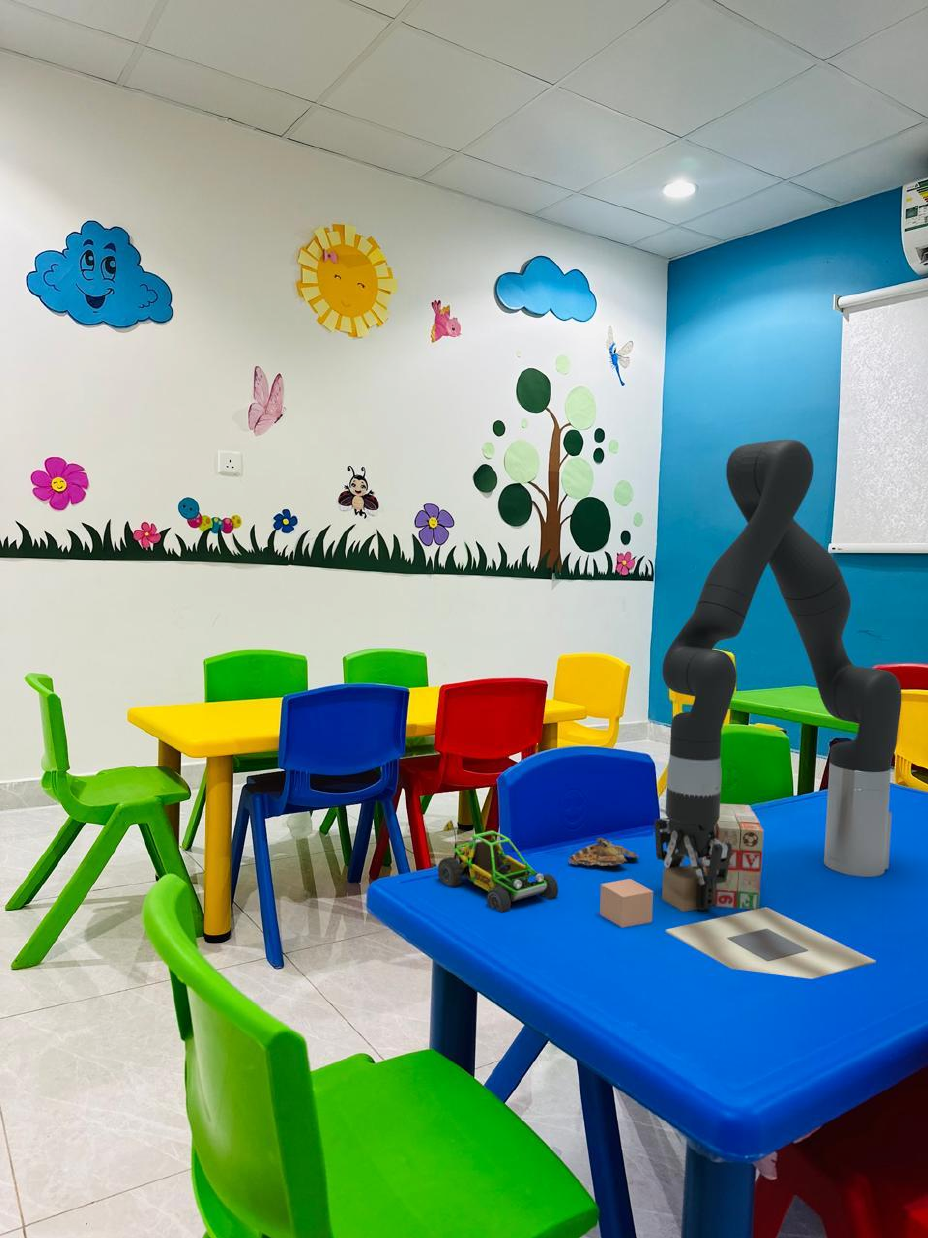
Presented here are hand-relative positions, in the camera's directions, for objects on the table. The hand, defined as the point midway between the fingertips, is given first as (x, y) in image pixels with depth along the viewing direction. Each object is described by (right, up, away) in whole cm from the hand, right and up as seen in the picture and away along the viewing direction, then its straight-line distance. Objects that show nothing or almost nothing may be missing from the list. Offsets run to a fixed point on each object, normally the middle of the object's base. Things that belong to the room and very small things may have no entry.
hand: (688, 900), depth 130 cm
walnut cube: (0, -1, 0) cm, 1 cm away
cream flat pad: (+6, -2, -15) cm, 16 cm away
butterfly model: (-9, -1, +15) cm, 17 cm away
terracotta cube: (-10, -1, -6) cm, 12 cm away
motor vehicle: (-28, 0, +4) cm, 29 cm away
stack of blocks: (+8, -1, +9) cm, 12 cm away
